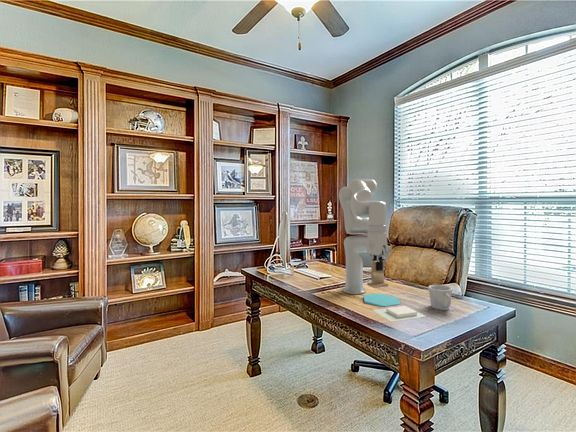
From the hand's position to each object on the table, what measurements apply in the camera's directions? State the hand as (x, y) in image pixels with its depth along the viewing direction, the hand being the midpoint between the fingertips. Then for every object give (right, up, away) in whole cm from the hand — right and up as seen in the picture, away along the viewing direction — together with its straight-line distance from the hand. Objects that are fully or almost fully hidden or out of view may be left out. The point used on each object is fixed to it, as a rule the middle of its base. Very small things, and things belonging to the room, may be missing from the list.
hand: (377, 269), depth 146 cm
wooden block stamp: (0, -7, 0) cm, 7 cm away
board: (+10, -21, +2) cm, 23 cm away
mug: (+32, -20, +7) cm, 39 cm away
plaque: (+8, -20, +20) cm, 30 cm away
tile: (+10, -19, +5) cm, 22 cm away
